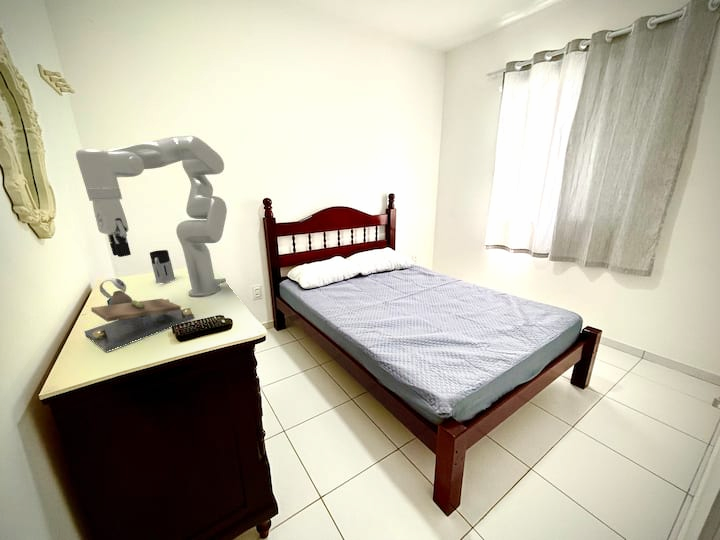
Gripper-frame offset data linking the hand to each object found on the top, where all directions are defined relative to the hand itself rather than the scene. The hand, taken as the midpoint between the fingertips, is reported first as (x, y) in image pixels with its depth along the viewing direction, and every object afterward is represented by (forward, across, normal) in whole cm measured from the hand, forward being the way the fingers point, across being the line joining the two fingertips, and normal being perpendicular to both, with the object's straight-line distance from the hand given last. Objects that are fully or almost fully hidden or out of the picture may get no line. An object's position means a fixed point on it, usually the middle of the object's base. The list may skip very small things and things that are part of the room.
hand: (122, 254), depth 90 cm
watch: (+25, -31, +3) cm, 40 cm away
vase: (+25, -19, +1) cm, 32 cm away
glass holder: (+25, -44, +26) cm, 57 cm away
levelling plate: (+19, 0, 0) cm, 19 cm away
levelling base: (+25, 0, 0) cm, 25 cm away
